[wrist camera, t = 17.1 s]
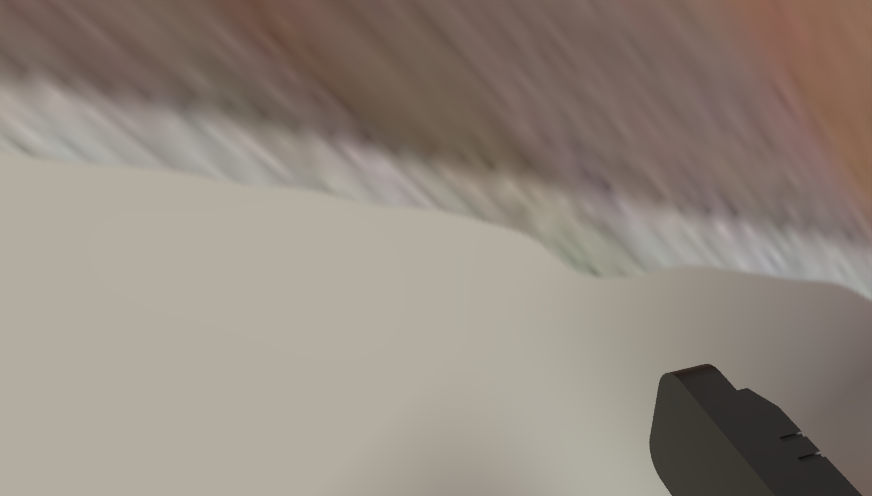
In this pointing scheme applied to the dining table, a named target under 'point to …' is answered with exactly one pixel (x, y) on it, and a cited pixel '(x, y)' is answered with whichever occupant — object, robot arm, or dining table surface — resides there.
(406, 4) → the dining table surface
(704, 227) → the dining table surface
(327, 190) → the dining table surface
